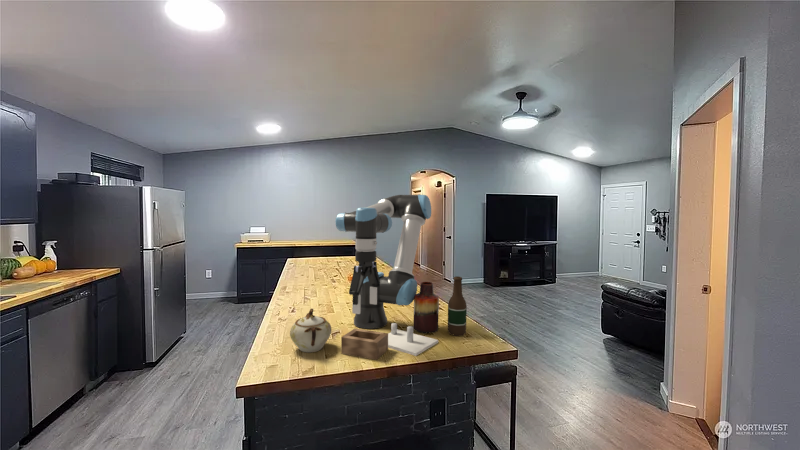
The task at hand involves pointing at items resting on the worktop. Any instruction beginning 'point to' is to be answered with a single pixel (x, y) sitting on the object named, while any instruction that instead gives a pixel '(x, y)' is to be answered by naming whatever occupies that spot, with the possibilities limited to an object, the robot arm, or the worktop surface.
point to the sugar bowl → (310, 332)
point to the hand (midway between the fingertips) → (365, 308)
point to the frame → (364, 343)
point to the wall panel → (412, 346)
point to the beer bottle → (457, 310)
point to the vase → (426, 309)
